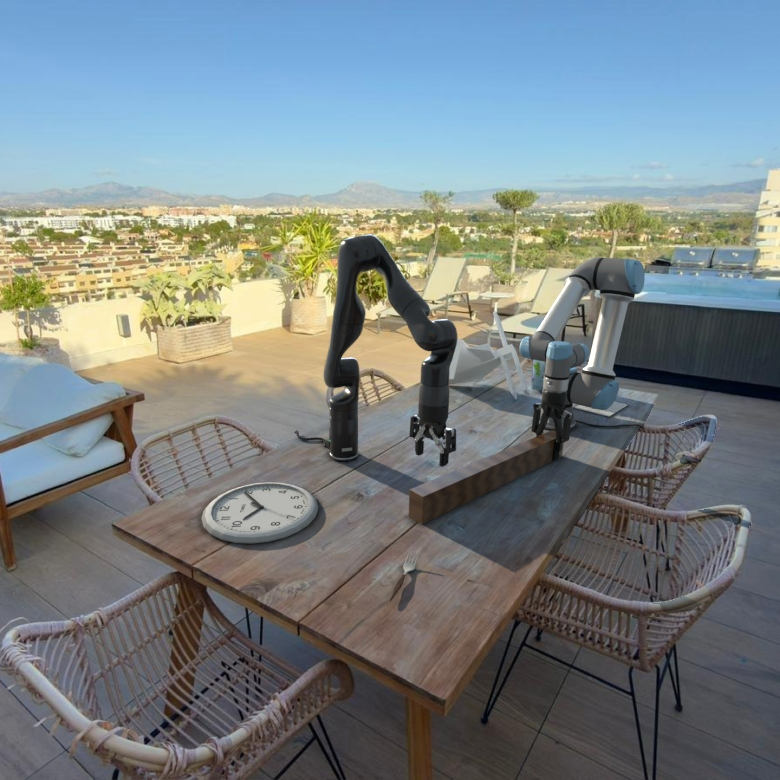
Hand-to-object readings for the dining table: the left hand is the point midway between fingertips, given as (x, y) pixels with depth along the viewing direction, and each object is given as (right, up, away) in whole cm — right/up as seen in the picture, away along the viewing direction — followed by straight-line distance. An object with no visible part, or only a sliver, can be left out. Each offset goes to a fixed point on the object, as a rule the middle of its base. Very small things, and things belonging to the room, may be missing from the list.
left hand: (431, 459), depth 135 cm
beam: (+21, -10, +23) cm, 32 cm away
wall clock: (-45, -14, +5) cm, 47 cm away
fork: (-8, -23, -22) cm, 33 cm away
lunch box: (+67, +18, +115) cm, 134 cm away
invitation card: (+81, +11, +92) cm, 123 cm away
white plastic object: (+31, +17, +109) cm, 114 cm away
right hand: (+42, -4, +40) cm, 58 cm away
